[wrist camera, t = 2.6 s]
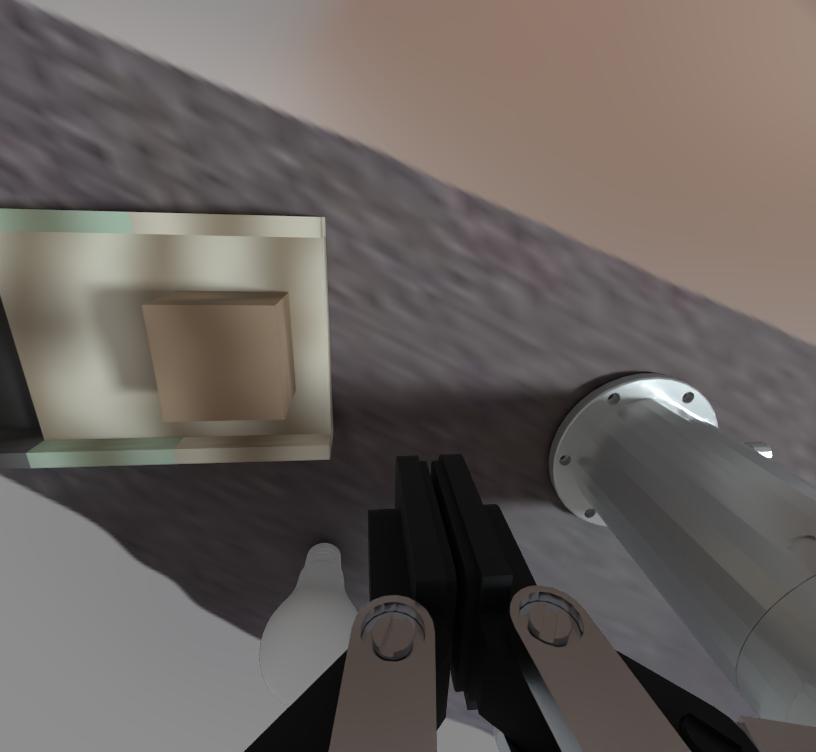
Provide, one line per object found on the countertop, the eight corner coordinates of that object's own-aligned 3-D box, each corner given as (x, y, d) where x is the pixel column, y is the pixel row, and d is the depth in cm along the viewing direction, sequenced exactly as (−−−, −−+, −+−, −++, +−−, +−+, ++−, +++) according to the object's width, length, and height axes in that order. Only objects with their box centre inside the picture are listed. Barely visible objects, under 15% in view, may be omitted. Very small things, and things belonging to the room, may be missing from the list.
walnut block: (288, 291, 24) (274, 305, 20) (295, 390, 26) (284, 419, 22) (177, 290, 23) (141, 304, 20) (193, 392, 25) (164, 421, 22)
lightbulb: (303, 505, 31) (274, 645, 21) (378, 531, 33) (384, 674, 22) (272, 565, 33) (230, 723, 23) (344, 588, 34) (335, 745, 24)
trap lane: (325, 217, 25) (319, 216, 21) (333, 432, 29) (329, 459, 26) (-119, 205, 22) (-202, 202, 19) (-31, 441, 27) (-85, 471, 24)
